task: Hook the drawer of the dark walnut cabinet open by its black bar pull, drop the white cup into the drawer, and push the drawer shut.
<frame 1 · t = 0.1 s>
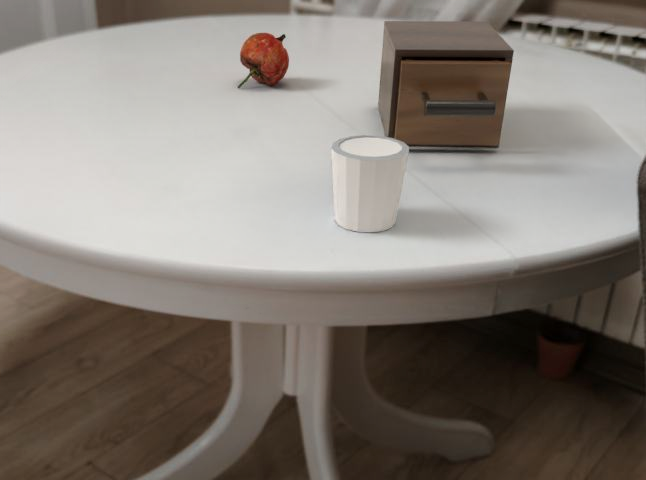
white cup: (364, 221, 75), on the table
drawer: (445, 94, 91), point 5 cm above the table, slide at 1.0 cm
cabinet: (434, 125, 98), on the table
pomegranate: (262, 86, 115), on the table
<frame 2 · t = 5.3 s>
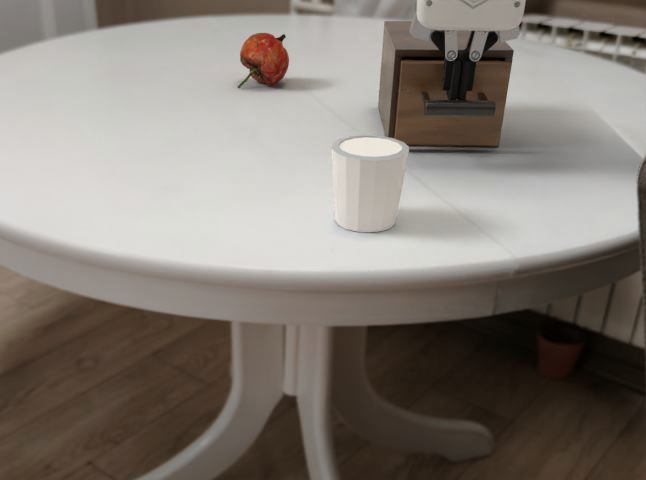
hand: (455, 97, 84), 7 cm above the table, tool pointing down, fingers closed
drawer: (445, 94, 91), point 5 cm above the table, slide at 1.0 cm, touching gripper
everything else where it was.
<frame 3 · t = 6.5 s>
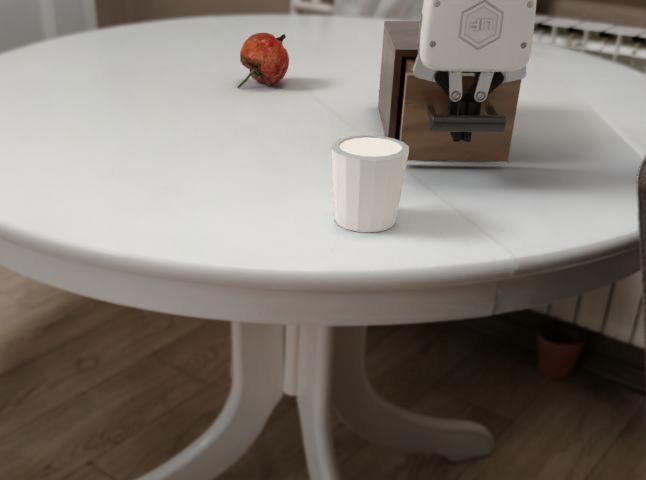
hand: (460, 137, 81), 4 cm above the table, tool pointing down, fingers closed
drawer: (452, 107, 87), point 5 cm above the table, slide at 6.2 cm, touching gripper
everything else where it was.
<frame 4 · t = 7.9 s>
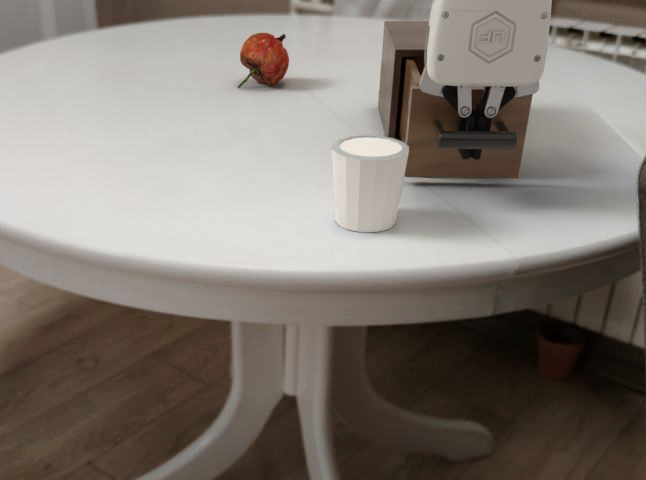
hand: (468, 154, 77), 4 cm above the table, tool pointing down, fingers closed
drawer: (459, 121, 82), point 5 cm above the table, slide at 11.2 cm
everything else where it was.
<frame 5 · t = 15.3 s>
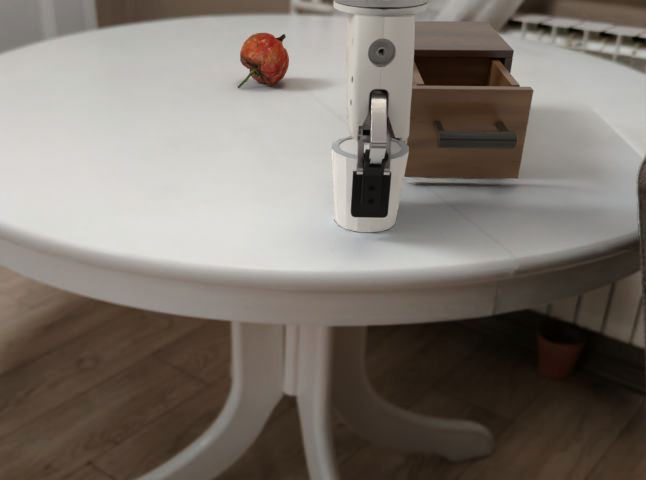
hand: (366, 197, 73), 2 cm above the table, tool pointing down, fingers closed on white cup, 6 cm apart
white cup: (364, 221, 75), on the table, touching gripper
everything else where it was.
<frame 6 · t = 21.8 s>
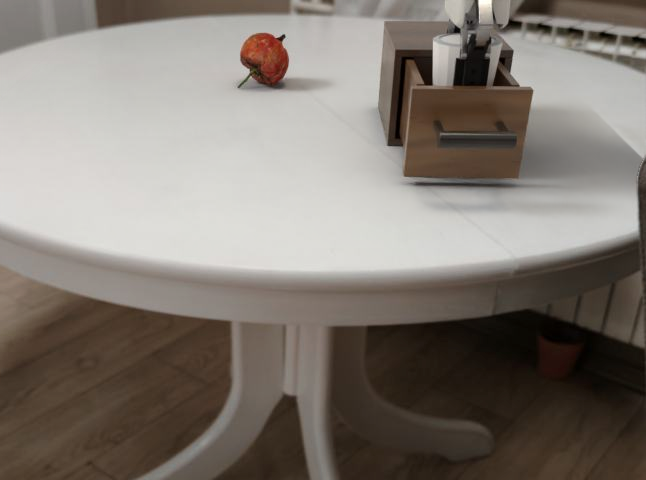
hand: (462, 88, 83), 8 cm above the table, tool pointing down, fingers closed on white cup, 6 cm apart
white cup: (459, 110, 84), point 6 cm above the table, touching gripper
everything else where it was.
when the fingers open (11 cm above the table, at t = 42.3 s): white cup drops 7 cm, resting on drawer.
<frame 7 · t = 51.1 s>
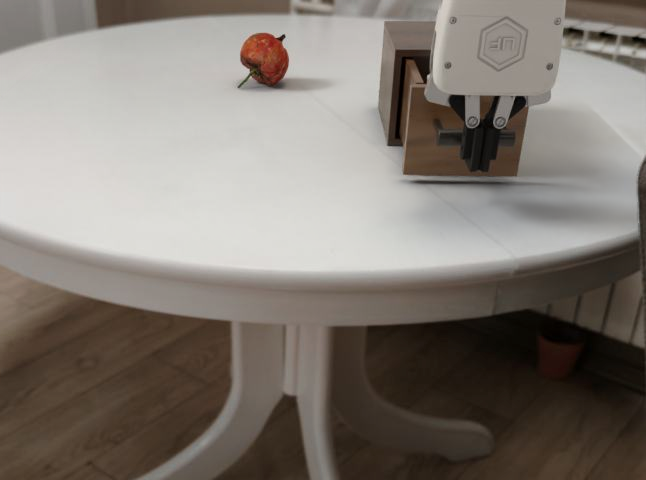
hand: (476, 166, 73), 4 cm above the table, tool pointing down, fingers closed
white cup: (451, 145, 87), point 2 cm above the table, touching drawer
drawer: (458, 119, 83), point 5 cm above the table, slide at 10.6 cm, touching gripper, white cup
everything else where it was.
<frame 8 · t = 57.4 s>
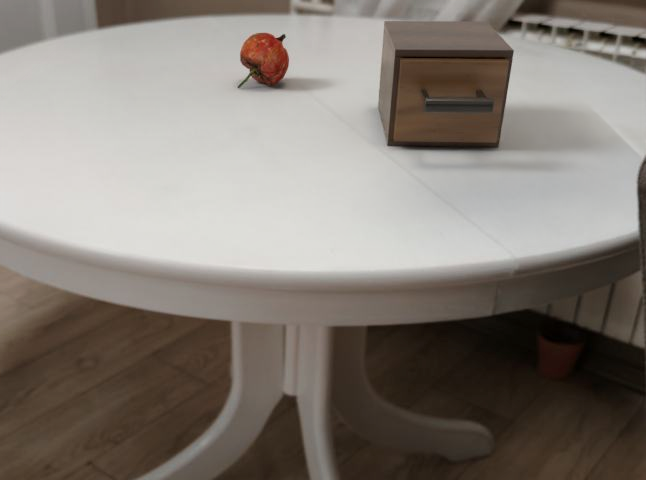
white cup: (438, 116, 96), point 2 cm above the table, touching drawer
drawer: (444, 91, 92), point 5 cm above the table, slide at 0.0 cm, touching cabinet, white cup
everything else where it was.
at the end: drawer pulled out 11.5 cm at the most during the clip, back to where it started at the end; white cup inside the target area in the cabinet (2.3 cm from its centre), point 1.8 cm above the cabinet's base; drawer slide at 0.0 cm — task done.
